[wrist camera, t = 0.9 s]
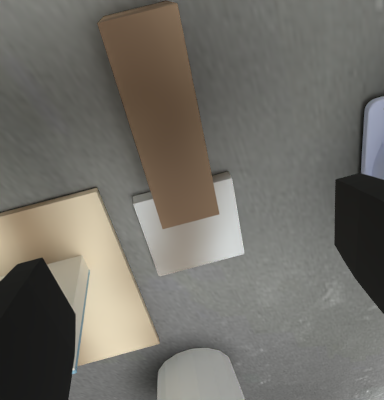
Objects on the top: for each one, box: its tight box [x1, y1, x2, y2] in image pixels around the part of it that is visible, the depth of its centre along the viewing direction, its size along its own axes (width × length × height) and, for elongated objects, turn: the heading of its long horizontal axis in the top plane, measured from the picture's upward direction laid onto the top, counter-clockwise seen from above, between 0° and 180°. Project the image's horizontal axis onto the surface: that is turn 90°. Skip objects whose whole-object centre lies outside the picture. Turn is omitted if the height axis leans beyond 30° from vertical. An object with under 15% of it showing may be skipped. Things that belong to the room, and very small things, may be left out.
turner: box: [97, 1, 244, 277], centre depth 16 cm, size 5×13×4 cm, turn 12°
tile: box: [0, 255, 90, 374], centre depth 16 cm, size 6×1×6 cm, turn 102°
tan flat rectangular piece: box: [0, 188, 160, 366], centre depth 20 cm, size 10×12×1 cm
